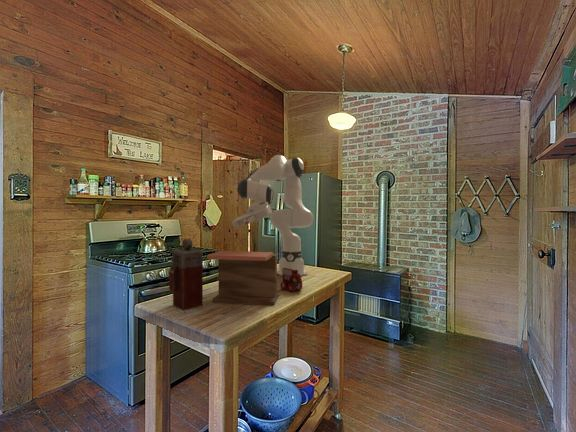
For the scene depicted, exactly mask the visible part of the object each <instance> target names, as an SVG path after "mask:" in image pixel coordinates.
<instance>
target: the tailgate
mask: <svg viewBox="0 0 576 432" xmlns="http://www.w3.org/2000/svg"><path fill="white" fill-rule="evenodd" d="M273 254H274V252H273V251H270V252H269V251H241V250H232V251H231V250H219V251H216V252H212V253H210V254H207V255H206V256H207V257H206V259H207V260H218V259H225V260H226V261H251V260H257V261H267V260H268V259H269V258H271V257H272V256H273Z"/></svg>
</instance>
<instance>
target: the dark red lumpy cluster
mask: <svg viewBox="0 0 576 432" xmlns="http://www.w3.org/2000/svg"><path fill="white" fill-rule="evenodd" d="M282 273H283V276H282V281H281V282H280V285H279V286H280V289H281V290H282V291H285V290H288V292H290V293H294V292H295V291H296V290H297V291H301V290H302V289H303V279H302V277H301V276H300V274H298V270H293V269H288V268H283V269H282Z"/></svg>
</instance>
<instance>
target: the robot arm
mask: <svg viewBox="0 0 576 432" xmlns="http://www.w3.org/2000/svg"><path fill="white" fill-rule="evenodd" d="M304 170H305V166H304V162H303V160H302V159H301V158H300V157H293V158H291V159H286V157H285V156H284V155H281V154H276V155H273V156H272V157H271V159H270V160H269V161H268V162H267V163H266V164H264V165H262V166H259V167H256V169H254V170H253V171H252V172H251V173H250V174H249V175H247V177H246V178H242V180H241V181H240V182H239V183H238V185H237V187H236V191H237V194H238V196H239V197H240V198H241V199H246V200H252V201H254V202H253V203H252V204H251V205H249V207H247V209H246V212H245V214H242V215H240V216H238V217H236V218H235V219H233V220H232V222H231V224H232V226H233V228H234V229H238V228H240V227H243V226H247V225H248V224H251V223H258V222H260V221H261V220H263V219H264V218H266V217H268V216H269V219H270V220H269V221H270V224H271V225H272V226H273V227H274V228H275V229H277V231H278V232H279V234H280V237H281V242H282V244H281V245H282V246H281V247H282V249H281V250H282V251H281V258H280V259H279V260H278V262H279V263H278V269H277V275H280V276H281V277H283V273H282V269H283V268H288V269H293V270H298V274H300V276H307V275H308V272H307V269H306V268H305V261H304V259H303V258H302V255H303V252H302V249H301V247H302V239H301V237H300V236H299V235H298V234H297V233H294V232H293V231H292V230H291V229H295V228H296V229H302V228H303V229H304V228H309V227H312V225H313V223H314V214H313V213H312V212H311V210H309V209H308V208H306V207H305V205H304V204H303V198H302V196H303V194H302V193H303V191H302V189H303V188H302V187H303V186H302V183H301V180H300V178H301V177H302V175H303V173H304ZM283 180H285V185H284V191H283V193H284V195H283V203H284V204H285V206H286V207H287V208H288V209H287V208H285V209H284V208H283V209H276V210H272V208H271V204H272V202H273V199H274V189H273V188H272V185H271V184H268V183H264V182H260V181H266V182H281V181H283ZM289 208H290V209H289Z"/></svg>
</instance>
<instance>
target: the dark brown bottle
mask: <svg viewBox="0 0 576 432" xmlns="http://www.w3.org/2000/svg"><path fill="white" fill-rule="evenodd" d="M192 241H193V240H192V239H191V238H184V239H183V241H182V249H181V248H179V249H174V250H172V264H170V268H169V271H168V289H169V290H170V291H171V292H172V301H173V302H172V305H174V306H173V307H175V306H177V307H178V309H179V308H180V310H181V309H182V310H181V311H186V309H187V310H190V308H191V309H194V308H198V307H202V306H203V302H204V301H203V299H204V298H203V297H204V296H203V294H204V293H203V288H204V287H203V286H204V285H203V251H202V250H201V249H197V248H194V247H193V242H192ZM177 307H176V308H177Z"/></svg>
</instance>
